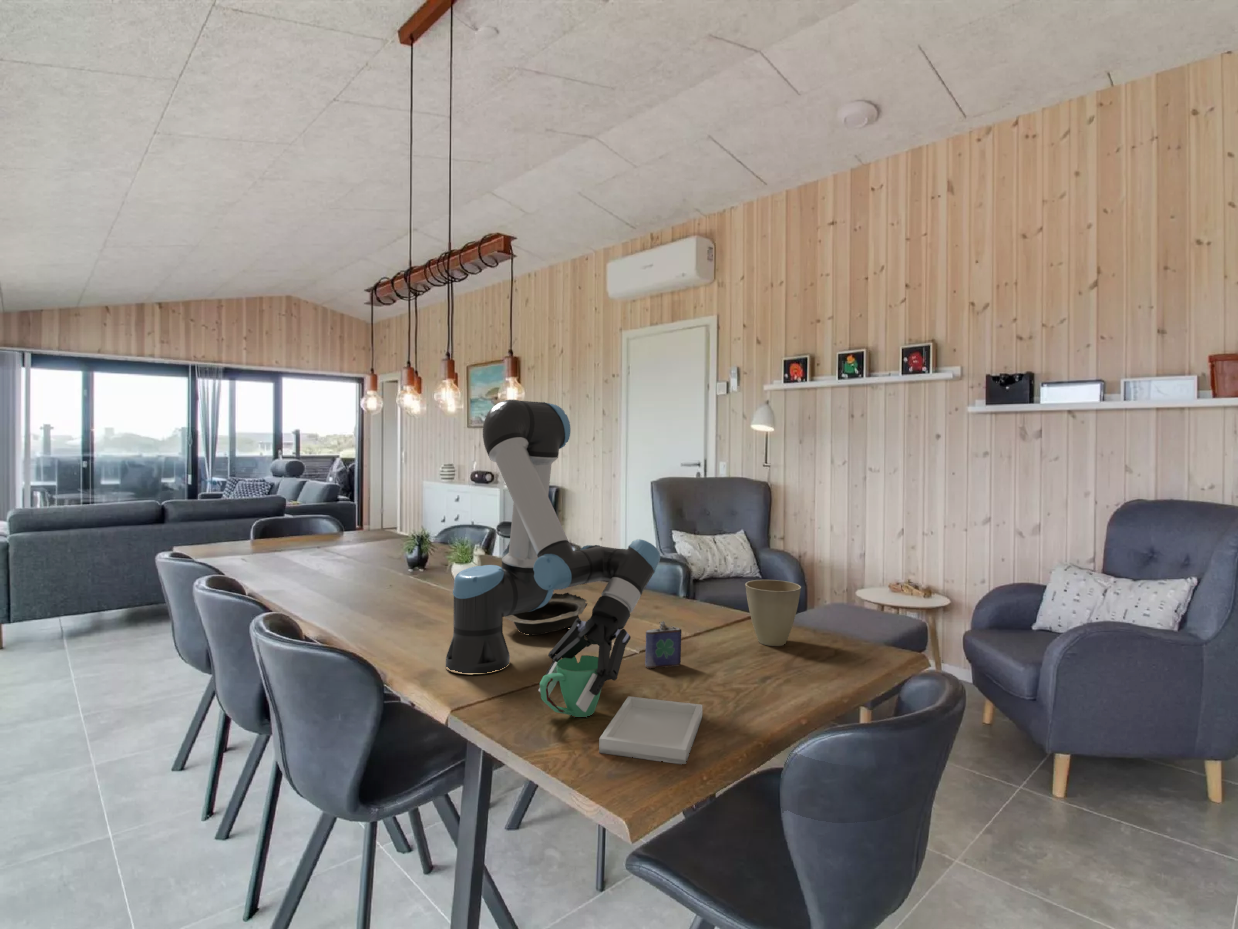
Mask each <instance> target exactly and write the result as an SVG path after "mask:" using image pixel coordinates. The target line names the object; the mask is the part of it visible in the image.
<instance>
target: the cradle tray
mask: <svg viewBox="0 0 1238 929" xmlns="http://www.w3.org/2000/svg"><path fill="white" fill-rule="evenodd" d="M702 719H703V704H697V703H689V702H681V701H672V700H663V699H655V698H647V697H639V696H638V697H636V696H629V695H628V696H627V698H626V699H625V701H624V702H623V703H622V705H621V706H620V707H619V709H618V711H617V712H616V714H615V715H614V717H613V718H612V719H611V721H609V724H608V725H607V726H606V727H605V729H604V731H603V733H602V734H601V735H600V737H599V738H598V740H599V741H598V745H599V746H598V753H599V754H604V755H613V756H619V757H624V758H632V757H633V759H640V760H647V761H655V762H661V761H663V763H670V764H675V765H682V764H687V762H688V759H689V755H690V754H689V753H691V750H692V748H693V745H694V743H695V739H696V736H697V734H698V730H699V727H700V725H701V723H702V722H701V721H702ZM691 747H692V748H691ZM686 761H687V762H686Z"/></svg>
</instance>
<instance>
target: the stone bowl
mask: <svg viewBox="0 0 1238 929" xmlns="http://www.w3.org/2000/svg"><path fill="white" fill-rule="evenodd" d="M588 605H589V604H588V603H587V599H585V598H583V597H581V596H579V595H577V594H571V593H570V592H565V593H557V592H556V593H554V592H553V595H552V597H551V599H550V600H549V602H548V603H547V604H546V605H544V606H543V607H541V608H538V609H536V610H533V611H530V612H523V613H519V614H514V615H510V616H505V617H504V618H505V619H506V620H507V621H510V622H513V624H514V626H515V627H516V629H517V630H519V631H520V632H522V633H525V634H529V635H532V636H533V635H534V636H536V635H537V636H538V635H544V634H548V633H552V632H554V631H555V632H556V631H561V630H564V629H567V628H571V627H572V625H573V623H574V622H575V620H576V619H577V618H579V619H580V616H579V615H581V614H583V612H584V611H585V608H586V607H587V606H588ZM519 631H518V632H519ZM520 632H519V633H520ZM522 633H521V634H522Z"/></svg>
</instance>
